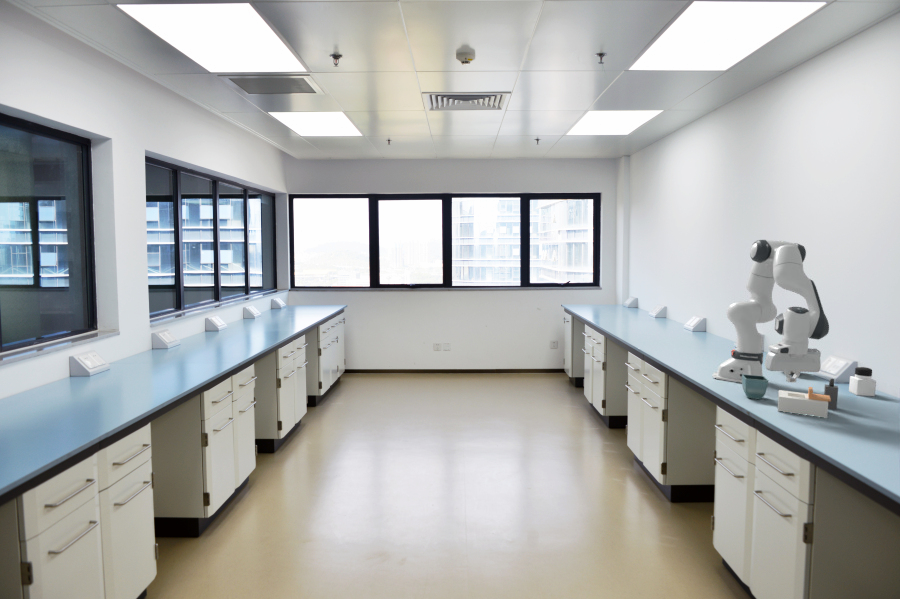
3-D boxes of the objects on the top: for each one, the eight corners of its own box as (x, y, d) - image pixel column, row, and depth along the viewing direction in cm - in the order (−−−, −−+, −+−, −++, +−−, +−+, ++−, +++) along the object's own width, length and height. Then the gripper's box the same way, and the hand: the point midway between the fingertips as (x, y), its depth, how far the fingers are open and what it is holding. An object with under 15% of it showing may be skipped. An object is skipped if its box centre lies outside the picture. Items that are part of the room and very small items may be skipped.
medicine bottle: (875, 396, 237) (877, 369, 236) (856, 395, 239) (859, 368, 238) (866, 392, 244) (868, 366, 243) (848, 391, 246) (850, 365, 245)
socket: (777, 411, 213) (778, 396, 212) (777, 404, 223) (778, 390, 223) (826, 418, 205) (828, 403, 204) (824, 410, 215) (825, 395, 214)
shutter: (808, 398, 209) (809, 390, 209) (807, 394, 215) (808, 386, 215) (830, 401, 206) (831, 392, 206) (829, 397, 212) (829, 389, 211)
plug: (823, 408, 218) (826, 379, 217) (823, 405, 222) (825, 377, 221) (836, 410, 216) (838, 380, 215) (835, 407, 220) (837, 378, 219)
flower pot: (762, 396, 236) (764, 375, 235) (767, 401, 227) (768, 380, 227) (740, 394, 239) (741, 374, 238) (744, 399, 230) (745, 378, 229)
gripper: (815, 347, 217) (812, 380, 219) (764, 345, 217) (761, 379, 219) (826, 350, 211) (822, 384, 212) (773, 349, 211) (770, 383, 213)
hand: (791, 382), depth 216 cm, fingers closed
